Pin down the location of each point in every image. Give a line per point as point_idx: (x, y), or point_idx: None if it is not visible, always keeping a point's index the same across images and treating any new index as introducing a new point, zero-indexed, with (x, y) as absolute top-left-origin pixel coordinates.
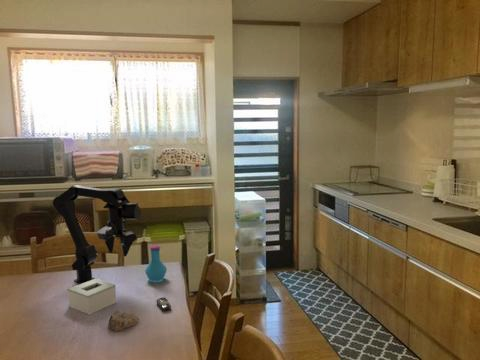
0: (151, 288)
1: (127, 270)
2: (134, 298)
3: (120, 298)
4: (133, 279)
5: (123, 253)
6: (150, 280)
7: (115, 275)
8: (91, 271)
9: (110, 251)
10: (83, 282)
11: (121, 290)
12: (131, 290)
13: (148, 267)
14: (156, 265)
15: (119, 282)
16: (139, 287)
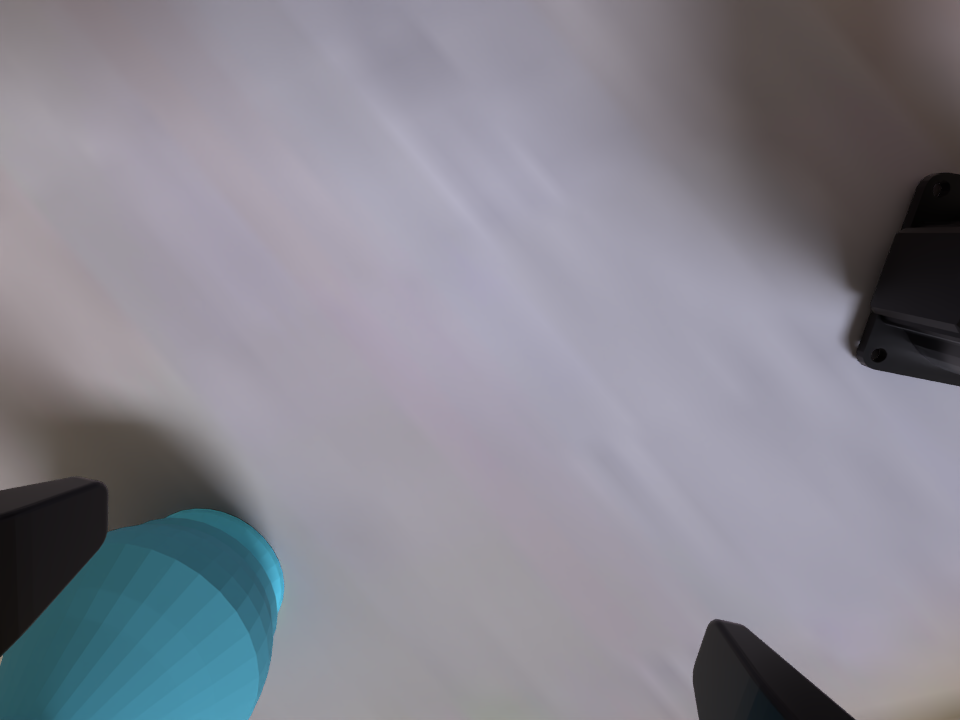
0: (95, 375)
1: (653, 693)
2: (56, 93)
3: (181, 25)
4: (420, 509)
5: (9, 507)
6: (217, 521)
7: (690, 542)
8: (953, 323)
9: (723, 657)
10: (931, 195)
11: (328, 215)
12: (233, 257)
13: (133, 617)
14: (7, 661)
15: (506, 392)
16: (216, 354)
